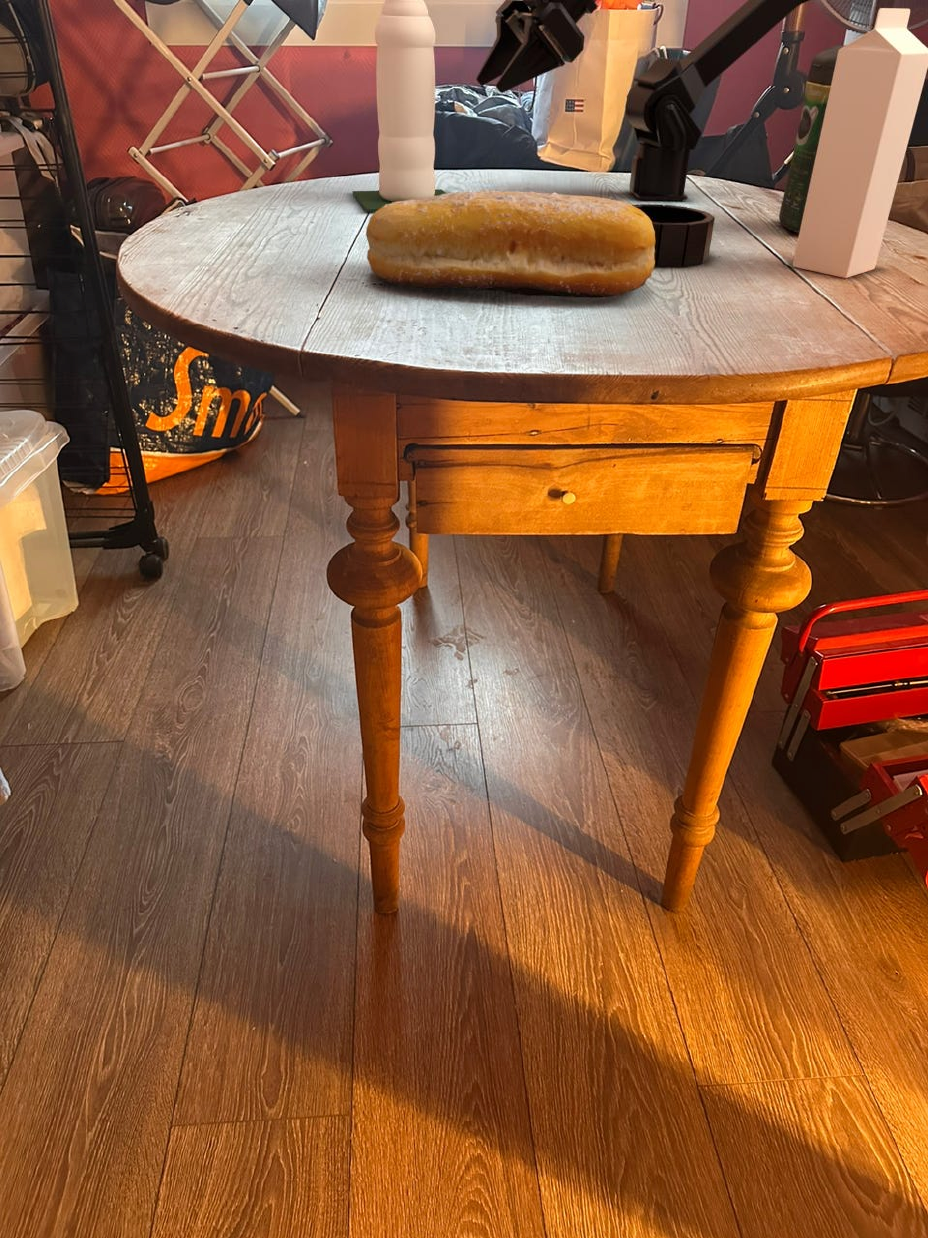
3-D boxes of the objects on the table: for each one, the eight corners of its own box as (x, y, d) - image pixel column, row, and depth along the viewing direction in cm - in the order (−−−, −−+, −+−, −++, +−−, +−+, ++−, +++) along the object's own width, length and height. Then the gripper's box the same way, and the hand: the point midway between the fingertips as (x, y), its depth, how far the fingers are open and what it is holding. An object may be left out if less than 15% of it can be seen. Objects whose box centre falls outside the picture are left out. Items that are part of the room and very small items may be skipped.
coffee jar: (861, 240, 105) (910, 48, 94) (791, 237, 105) (832, 45, 94) (835, 222, 113) (877, 43, 102) (770, 220, 113) (806, 41, 102)
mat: (441, 192, 123) (441, 189, 123) (462, 210, 113) (463, 206, 113) (352, 194, 121) (352, 190, 120) (366, 212, 111) (366, 209, 111)
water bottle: (384, 204, 113) (378, -46, 99) (375, 193, 119) (367, -45, 105) (440, 202, 115) (442, -44, 101) (428, 192, 120) (428, -43, 106)
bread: (656, 311, 79) (670, 212, 75) (353, 296, 81) (348, 198, 76) (647, 272, 90) (658, 183, 86) (380, 260, 92) (377, 172, 87)
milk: (874, 269, 93) (945, 9, 81) (845, 279, 90) (914, 8, 77) (820, 257, 97) (880, 7, 85) (790, 266, 94) (847, 6, 81)
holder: (691, 243, 101) (698, 204, 99) (719, 267, 93) (726, 224, 90) (600, 243, 100) (604, 203, 98) (619, 266, 92) (624, 223, 90)
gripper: (516, -82, 111) (426, 26, 115) (566, -91, 96) (461, 33, 100) (572, -1, 117) (485, 98, 121) (627, 1, 102) (526, 115, 106)
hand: (488, 85), depth 112 cm, fingers open, 9 cm apart
